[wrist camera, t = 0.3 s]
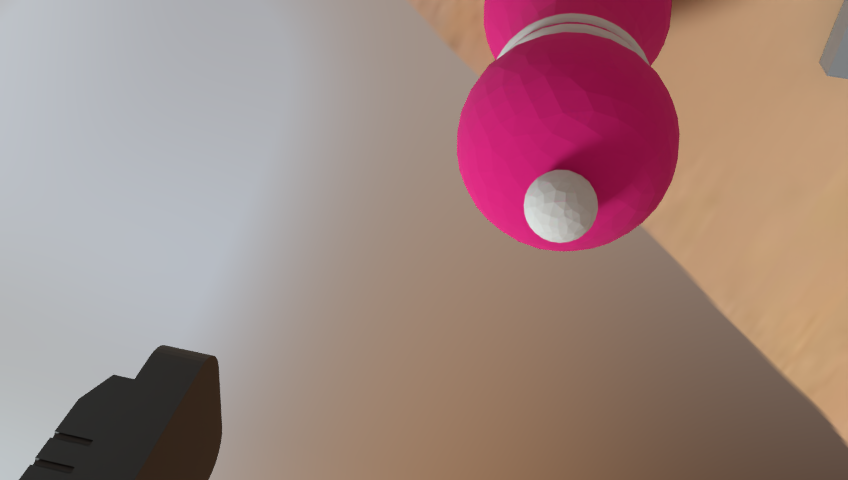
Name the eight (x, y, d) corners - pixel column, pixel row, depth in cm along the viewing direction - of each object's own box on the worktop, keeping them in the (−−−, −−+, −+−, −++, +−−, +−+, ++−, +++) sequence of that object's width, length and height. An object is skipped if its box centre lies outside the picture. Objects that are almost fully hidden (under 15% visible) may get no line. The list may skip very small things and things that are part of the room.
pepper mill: (571, 88, 38) (549, 385, 21) (462, -23, 36) (347, 213, 19) (700, -21, 34) (791, 240, 18) (586, -151, 32) (571, 8, 16)
